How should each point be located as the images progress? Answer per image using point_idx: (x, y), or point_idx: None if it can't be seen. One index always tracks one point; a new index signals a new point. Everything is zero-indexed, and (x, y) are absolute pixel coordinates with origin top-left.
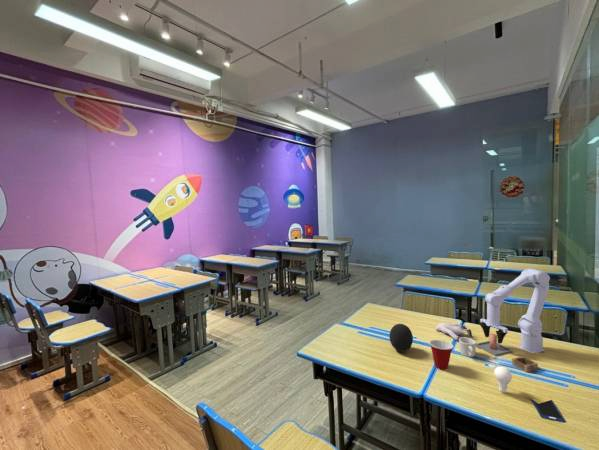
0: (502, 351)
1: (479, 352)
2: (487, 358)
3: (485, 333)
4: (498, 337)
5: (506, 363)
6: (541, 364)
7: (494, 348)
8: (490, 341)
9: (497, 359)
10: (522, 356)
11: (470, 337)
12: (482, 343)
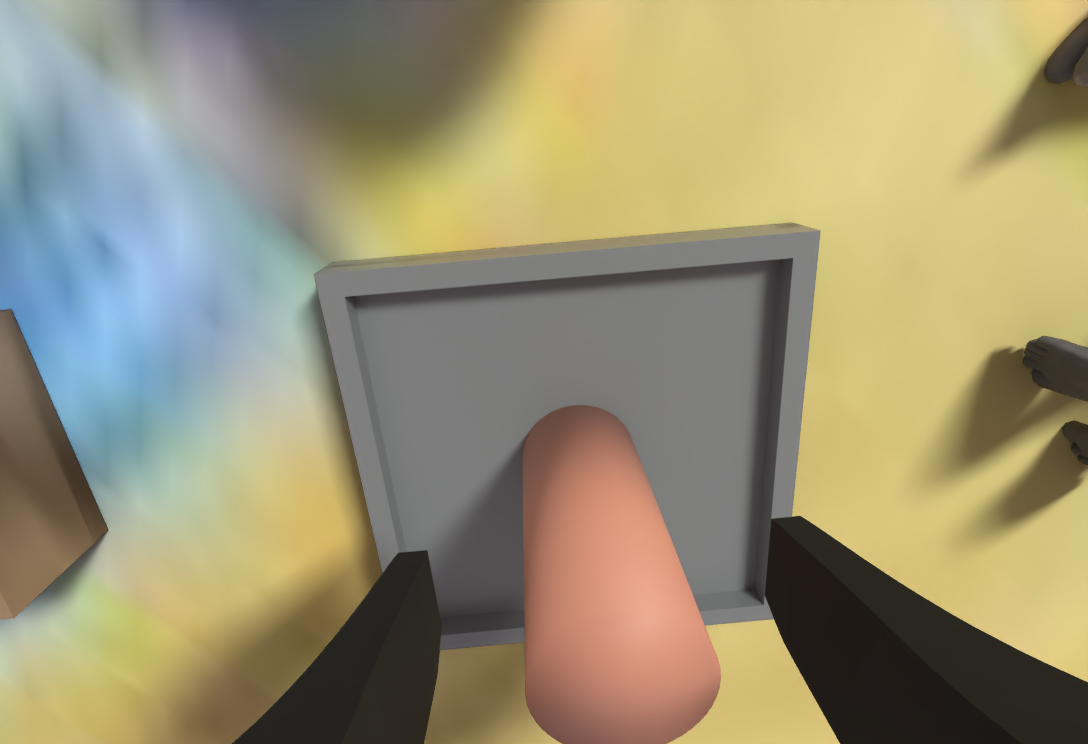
0: (442, 510)
1: (563, 100)
2: (304, 59)
3: (835, 582)
4: (321, 686)
5: (92, 279)
6: (74, 705)
7: (527, 447)
8: (609, 484)
9: (246, 236)
10: (5, 609)
11: (1061, 367)
12: (775, 399)
